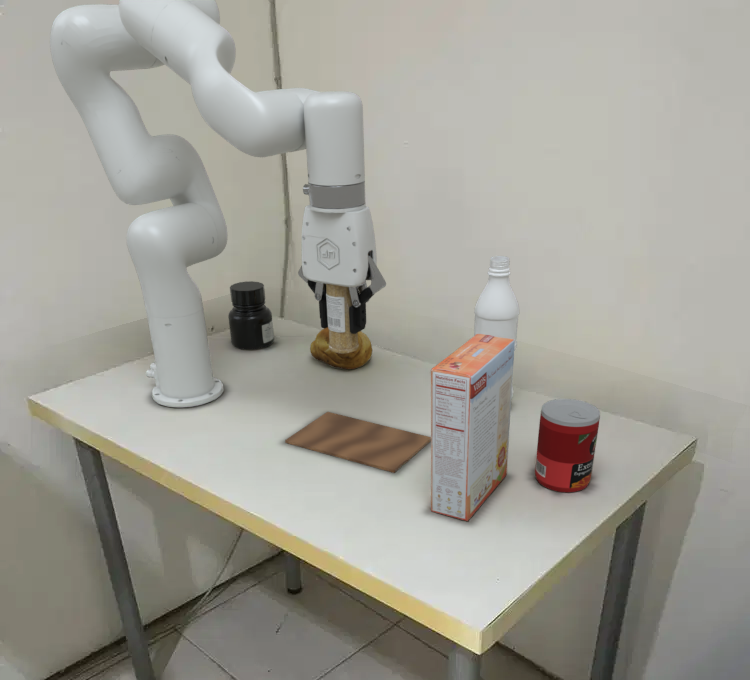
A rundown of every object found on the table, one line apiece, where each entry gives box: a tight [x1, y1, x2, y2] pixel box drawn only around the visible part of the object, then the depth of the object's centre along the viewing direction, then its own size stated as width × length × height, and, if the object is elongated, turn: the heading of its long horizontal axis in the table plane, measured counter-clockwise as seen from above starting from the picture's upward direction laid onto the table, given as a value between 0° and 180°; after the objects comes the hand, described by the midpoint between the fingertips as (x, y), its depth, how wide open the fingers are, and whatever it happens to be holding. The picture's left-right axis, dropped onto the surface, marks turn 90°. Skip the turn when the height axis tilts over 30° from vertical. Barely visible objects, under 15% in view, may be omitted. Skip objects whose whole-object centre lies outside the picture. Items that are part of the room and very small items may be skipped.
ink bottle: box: [227, 280, 275, 351], centre depth 158 cm, size 10×9×12 cm
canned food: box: [534, 398, 601, 493], centre depth 108 cm, size 8×8×11 cm
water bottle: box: [473, 255, 520, 401], centre depth 126 cm, size 7×7×25 cm
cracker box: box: [430, 334, 515, 522], centre depth 102 cm, size 14×6×21 cm, turn 150°
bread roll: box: [309, 327, 373, 370], centre depth 149 cm, size 13×10×8 cm
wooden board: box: [284, 411, 431, 474], centre depth 122 cm, size 20×12×1 cm, turn 59°
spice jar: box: [326, 284, 359, 354], centre depth 111 cm, size 5×5×13 cm
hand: (343, 327), depth 113 cm, fingers closed on spice jar, 4 cm apart
